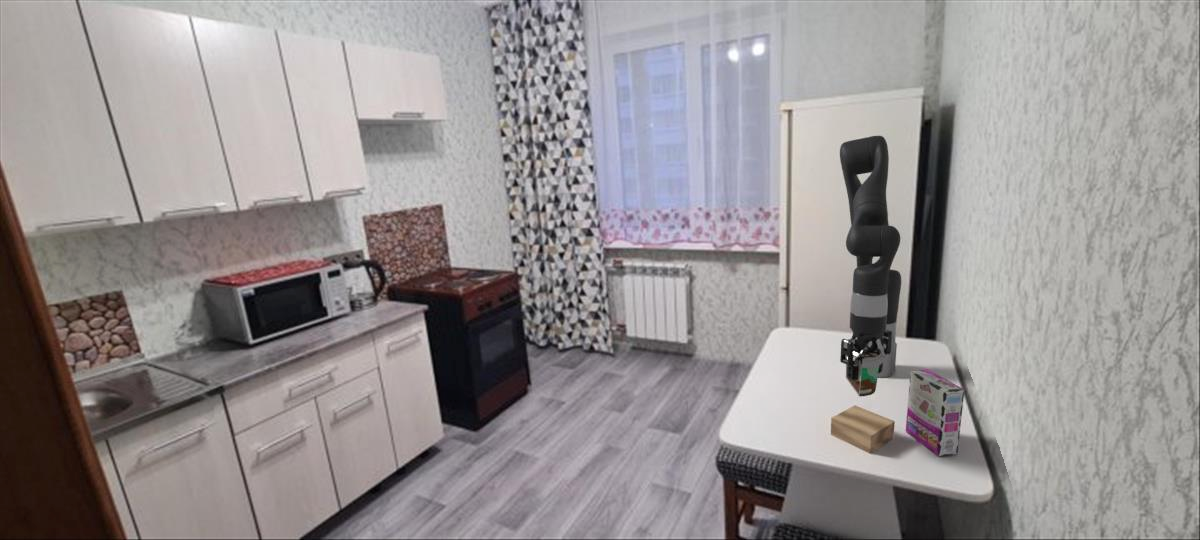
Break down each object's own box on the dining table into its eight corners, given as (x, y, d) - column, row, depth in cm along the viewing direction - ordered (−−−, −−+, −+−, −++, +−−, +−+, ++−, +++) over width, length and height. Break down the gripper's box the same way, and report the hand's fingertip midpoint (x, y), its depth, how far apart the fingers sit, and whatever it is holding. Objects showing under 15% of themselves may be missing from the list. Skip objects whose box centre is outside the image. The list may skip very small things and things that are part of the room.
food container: (890, 399, 111) (893, 359, 109) (861, 399, 112) (863, 359, 110) (869, 375, 123) (872, 338, 121) (843, 375, 124) (845, 338, 122)
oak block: (854, 422, 127) (854, 405, 126) (893, 439, 119) (894, 421, 117) (830, 435, 122) (831, 417, 121) (869, 454, 114) (871, 435, 112)
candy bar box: (959, 455, 111) (966, 389, 107) (938, 457, 110) (945, 391, 107) (923, 428, 122) (928, 368, 118) (904, 431, 121) (909, 370, 117)
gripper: (876, 301, 119) (872, 363, 123) (832, 312, 114) (829, 376, 117) (905, 309, 112) (900, 374, 116) (860, 320, 107) (856, 389, 111)
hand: (864, 375), depth 117 cm, fingers closed on food container, 7 cm apart
